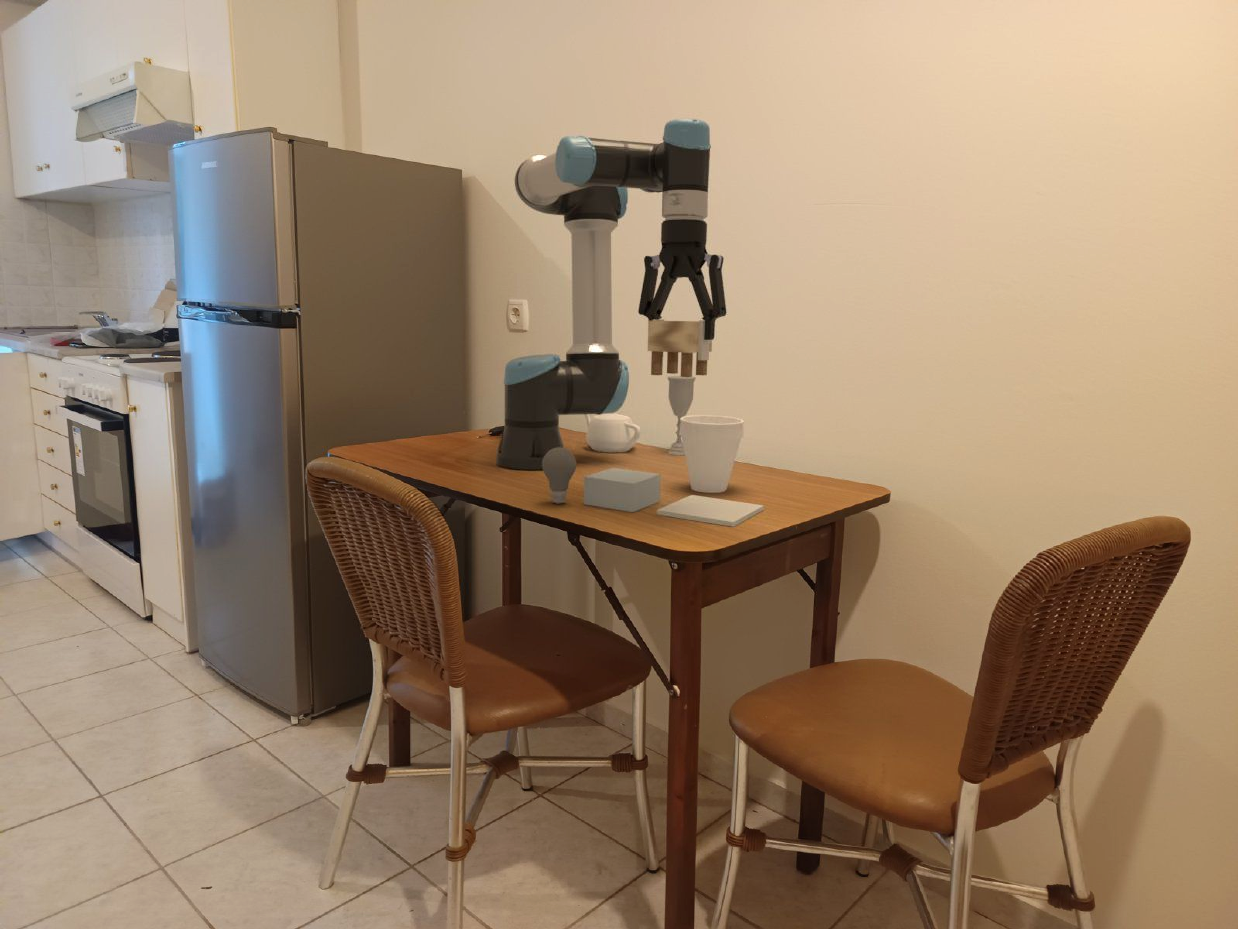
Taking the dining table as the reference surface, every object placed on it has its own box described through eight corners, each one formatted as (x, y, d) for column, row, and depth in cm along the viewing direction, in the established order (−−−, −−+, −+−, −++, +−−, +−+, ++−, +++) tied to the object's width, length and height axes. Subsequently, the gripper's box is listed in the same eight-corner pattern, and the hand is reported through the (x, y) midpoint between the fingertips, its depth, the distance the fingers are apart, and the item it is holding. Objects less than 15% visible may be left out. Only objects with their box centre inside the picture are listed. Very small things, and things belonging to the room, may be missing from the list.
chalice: (690, 456, 203) (694, 379, 200) (662, 454, 205) (664, 378, 201) (694, 451, 210) (697, 376, 207) (666, 449, 212) (669, 375, 208)
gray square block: (583, 504, 154) (584, 476, 153) (612, 493, 163) (612, 467, 162) (633, 512, 150) (634, 483, 149) (659, 501, 158) (660, 474, 157)
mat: (656, 514, 149) (656, 509, 148) (691, 499, 160) (691, 494, 160) (733, 526, 142) (733, 522, 142) (763, 509, 154) (764, 505, 154)
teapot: (563, 445, 214) (564, 404, 212) (601, 440, 222) (602, 401, 220) (619, 458, 200) (620, 413, 198) (657, 452, 208) (658, 410, 206)
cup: (751, 494, 165) (755, 423, 163) (690, 497, 162) (693, 424, 159) (725, 481, 177) (728, 414, 174) (668, 483, 174) (670, 415, 171)
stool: (647, 374, 147) (648, 320, 145) (669, 372, 153) (670, 320, 152) (689, 377, 143) (691, 321, 141) (710, 375, 149) (712, 321, 148)
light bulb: (548, 508, 151) (548, 451, 149) (537, 500, 156) (537, 445, 154) (580, 505, 153) (581, 449, 151) (568, 498, 158) (569, 444, 157)
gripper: (618, 219, 146) (615, 356, 150) (733, 214, 135) (727, 362, 139) (640, 224, 152) (637, 355, 156) (752, 219, 142) (746, 360, 145)
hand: (680, 358), depth 148 cm, fingers closed on stool, 8 cm apart
